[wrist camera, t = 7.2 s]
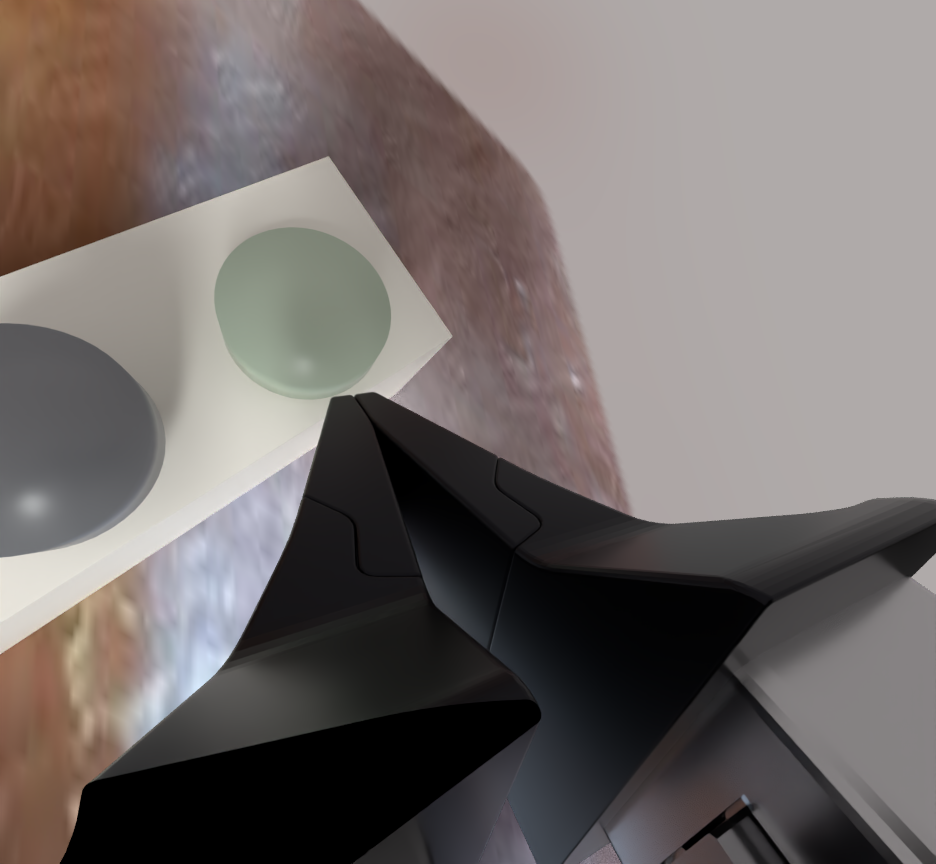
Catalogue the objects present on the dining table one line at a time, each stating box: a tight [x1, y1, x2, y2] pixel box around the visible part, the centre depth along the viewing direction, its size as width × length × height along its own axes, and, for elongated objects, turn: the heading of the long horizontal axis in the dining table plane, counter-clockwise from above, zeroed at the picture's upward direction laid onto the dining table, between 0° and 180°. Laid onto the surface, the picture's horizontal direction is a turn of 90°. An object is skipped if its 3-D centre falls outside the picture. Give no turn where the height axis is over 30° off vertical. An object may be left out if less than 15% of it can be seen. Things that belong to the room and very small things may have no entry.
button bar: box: [0, 156, 452, 654], centre depth 15 cm, size 7×20×8 cm, turn 127°
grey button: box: [0, 323, 166, 558], centre depth 9 cm, size 4×4×2 cm
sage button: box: [214, 227, 391, 400], centre depth 13 cm, size 4×4×2 cm
